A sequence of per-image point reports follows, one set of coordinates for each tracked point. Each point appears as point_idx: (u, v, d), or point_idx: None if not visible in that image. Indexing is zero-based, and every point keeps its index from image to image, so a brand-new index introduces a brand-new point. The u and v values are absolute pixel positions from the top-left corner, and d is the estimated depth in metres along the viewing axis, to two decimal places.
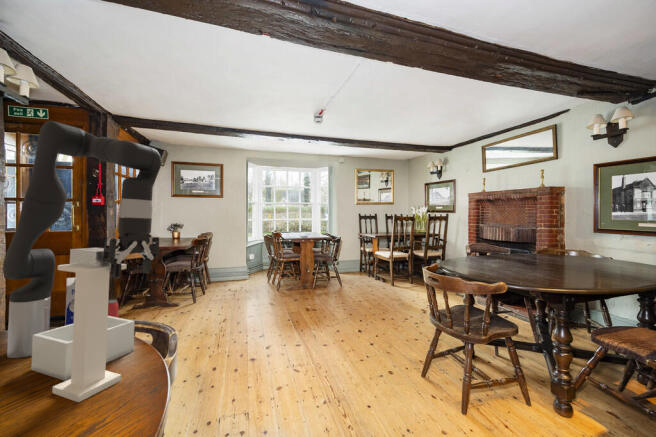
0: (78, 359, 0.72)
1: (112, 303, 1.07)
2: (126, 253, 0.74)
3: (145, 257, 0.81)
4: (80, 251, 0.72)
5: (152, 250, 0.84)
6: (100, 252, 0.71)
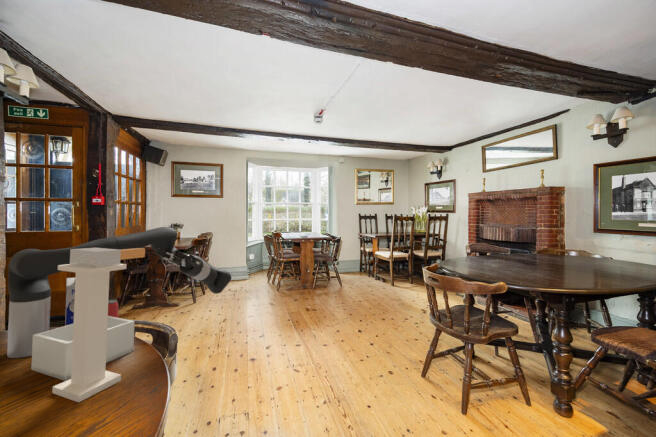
0: (78, 359, 0.72)
1: (112, 303, 1.07)
2: (183, 263, 1.03)
3: (166, 254, 1.05)
4: (80, 251, 0.72)
5: None
6: (100, 252, 0.71)
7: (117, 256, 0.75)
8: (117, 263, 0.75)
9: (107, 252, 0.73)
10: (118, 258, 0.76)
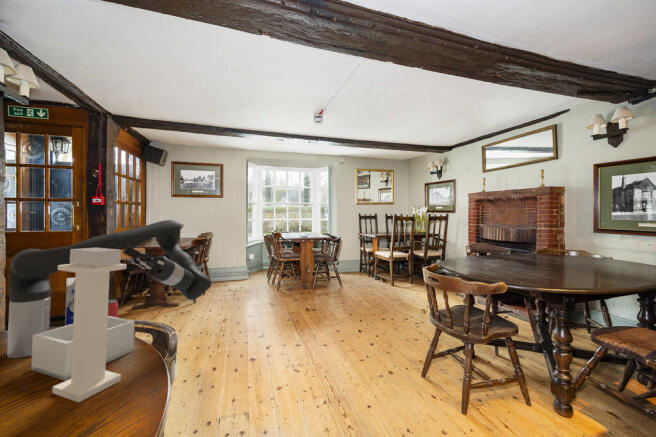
0: (78, 359, 0.72)
1: (112, 303, 1.07)
2: (142, 264, 0.86)
3: None
4: (80, 251, 0.72)
5: None
6: (100, 252, 0.71)
7: (117, 256, 0.75)
8: (117, 263, 0.75)
9: (107, 252, 0.73)
10: (118, 258, 0.76)
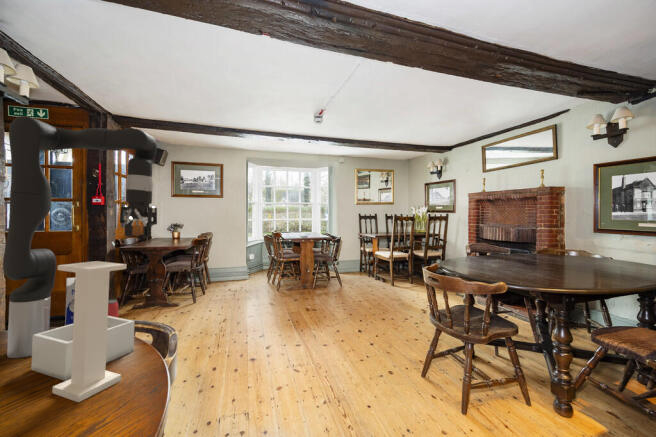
0: (78, 359, 0.72)
1: (112, 303, 1.07)
2: None
3: (128, 223, 0.97)
4: None
5: None
6: None
7: None
8: None
9: None
10: None
